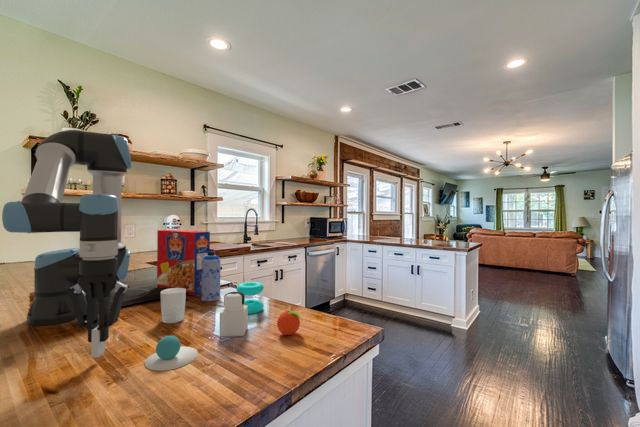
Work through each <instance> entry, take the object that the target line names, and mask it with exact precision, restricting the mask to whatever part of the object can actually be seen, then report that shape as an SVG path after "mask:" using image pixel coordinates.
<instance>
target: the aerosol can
mask: <svg viewBox="0 0 640 427" xmlns="http://www.w3.org/2000/svg"><path fill="white" fill-rule="evenodd" d="M221 298H222V296H221V258H220V256H218V255H216V254H215V251H213V250H211V251H210V252H209V254H208V255H207V256H205V257H204V258H203V259H202V294H201V298H200V300H201V301H203V302H212V301H218V300H220V299H221Z"/></svg>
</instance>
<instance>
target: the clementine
mask: <svg viewBox="0 0 640 427" xmlns="http://www.w3.org/2000/svg"><path fill="white" fill-rule="evenodd" d="M300 320H301V321H303V320H302V317H301V316H300V314H298V313H297V312H295V311H293V310H285V311H283V312H281V314H280V315H279V316H278V318H277V322H276V326H277V328H278V331H279V332H280V333H281V334H283V335H284V336H291V335H294V334H295V333H296V332H297V331H298V330H299V329H300V325H301V321H300Z"/></svg>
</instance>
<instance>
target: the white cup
mask: <svg viewBox="0 0 640 427" xmlns="http://www.w3.org/2000/svg"><path fill="white" fill-rule="evenodd" d="M186 297H187V294H186V289H184V288H170V289H162V290H161V291H160V309H161V310H160V312H161V322H162V323H164V324H176V323H179V322H181V321H184V319H185V311H186V299H187V298H186Z"/></svg>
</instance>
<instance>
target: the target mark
mask: <svg viewBox="0 0 640 427" xmlns="http://www.w3.org/2000/svg"><path fill="white" fill-rule="evenodd" d="M198 356H199V352H198V350H197V349H196V348H193V347H192V346H191V347H190V346H180V350H179V352H178V354H177V355H176V356H175V357H173V358H171V359H168V360H164V359H161V358H159V357H158V355H157V353H156V352H154V353H152V354H151V355H149V356H148V357H146V358H145V361H144V366H145V368H146V369H148V370H151V371H159V372H160V371H163V372H164V371H171V370H175V369H179V368H182V367H184V366H187V365H189V364H191V363H192V362H193V361H196V359H197V358H198Z"/></svg>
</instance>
